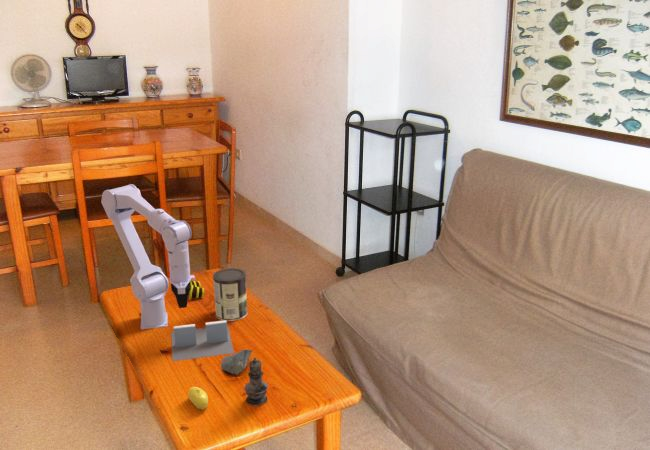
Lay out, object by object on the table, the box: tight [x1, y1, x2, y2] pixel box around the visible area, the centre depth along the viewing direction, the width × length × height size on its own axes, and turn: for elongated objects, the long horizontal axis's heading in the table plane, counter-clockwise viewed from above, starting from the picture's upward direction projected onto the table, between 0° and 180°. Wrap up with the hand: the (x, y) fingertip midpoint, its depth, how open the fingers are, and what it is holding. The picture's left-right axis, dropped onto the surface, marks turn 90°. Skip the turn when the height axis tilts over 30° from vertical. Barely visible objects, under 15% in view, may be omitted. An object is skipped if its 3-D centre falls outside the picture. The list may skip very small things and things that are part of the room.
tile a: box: [173, 323, 197, 348], centre depth 173 cm, size 2×6×6 cm, turn 105°
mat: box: [170, 324, 235, 362], centre depth 175 cm, size 17×17×1 cm
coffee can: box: [212, 267, 248, 322], centre depth 191 cm, size 10×10×14 cm
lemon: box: [188, 386, 209, 410], centre depth 147 cm, size 4×8×4 cm, turn 29°
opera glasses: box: [188, 280, 205, 301], centre depth 206 cm, size 10×5×5 cm, turn 25°
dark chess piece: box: [243, 357, 269, 407], centre depth 147 cm, size 6×6×12 cm
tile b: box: [205, 320, 228, 344], centre depth 175 cm, size 2×6×6 cm, turn 104°
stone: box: [220, 349, 253, 377], centre depth 162 cm, size 11×4×10 cm
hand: (182, 306), depth 176 cm, fingers closed
